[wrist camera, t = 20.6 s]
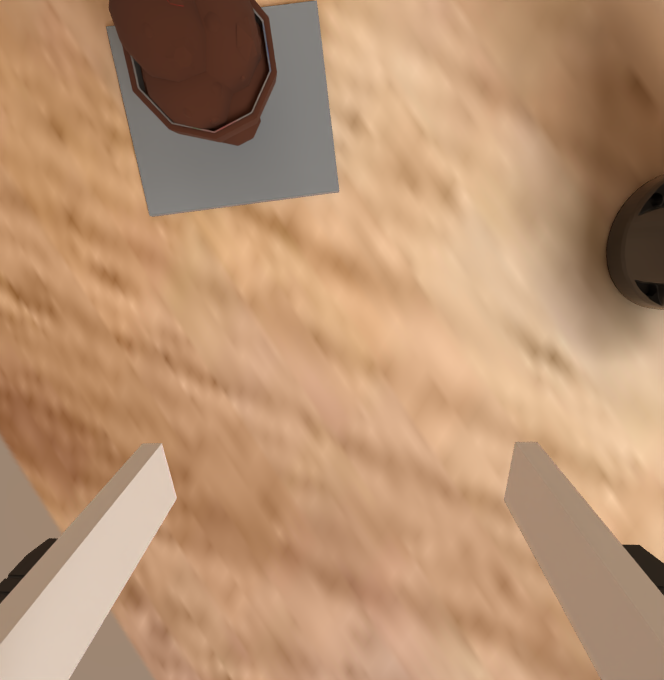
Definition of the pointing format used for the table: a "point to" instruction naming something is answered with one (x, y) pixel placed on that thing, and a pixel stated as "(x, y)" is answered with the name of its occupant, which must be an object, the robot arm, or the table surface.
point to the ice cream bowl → (199, 63)
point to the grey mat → (256, 154)
